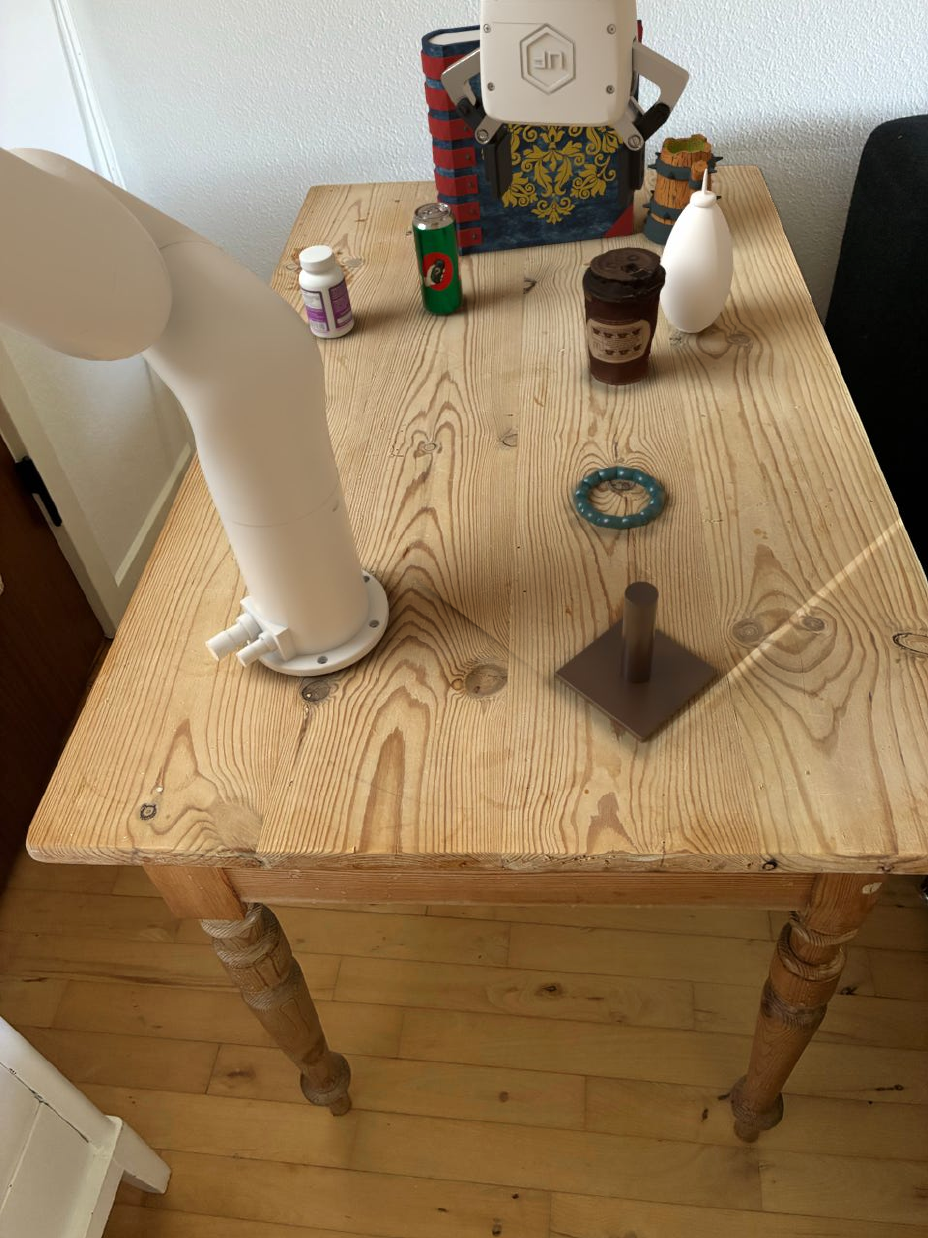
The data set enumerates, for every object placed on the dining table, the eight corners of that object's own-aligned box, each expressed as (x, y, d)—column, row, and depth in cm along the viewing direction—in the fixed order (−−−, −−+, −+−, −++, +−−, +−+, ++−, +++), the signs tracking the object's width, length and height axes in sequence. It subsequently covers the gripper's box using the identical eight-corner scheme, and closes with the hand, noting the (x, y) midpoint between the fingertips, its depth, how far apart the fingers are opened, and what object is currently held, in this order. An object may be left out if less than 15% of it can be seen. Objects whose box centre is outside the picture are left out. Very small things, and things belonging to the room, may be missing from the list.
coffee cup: (655, 399, 99) (664, 285, 89) (577, 396, 101) (577, 283, 91) (661, 353, 105) (669, 241, 95) (586, 350, 106) (587, 240, 97)
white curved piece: (717, 351, 104) (738, 188, 91) (648, 342, 106) (658, 182, 93) (731, 314, 109) (753, 154, 95) (664, 306, 111) (676, 149, 98)
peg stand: (640, 747, 71) (649, 662, 63) (554, 682, 75) (552, 595, 68) (716, 679, 74) (732, 590, 67) (629, 621, 79) (635, 532, 71)
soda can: (472, 307, 115) (463, 210, 106) (437, 322, 113) (426, 225, 104) (449, 291, 118) (439, 196, 109) (415, 306, 116) (402, 210, 107)
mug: (633, 215, 127) (638, 125, 118) (709, 207, 127) (719, 116, 118) (652, 262, 118) (658, 169, 110) (733, 253, 118) (746, 159, 109)
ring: (622, 547, 85) (623, 536, 84) (555, 505, 89) (555, 494, 88) (682, 501, 88) (683, 490, 87) (615, 463, 93) (615, 452, 92)
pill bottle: (348, 312, 117) (333, 237, 109) (359, 333, 113) (344, 257, 106) (306, 322, 116) (289, 248, 109) (315, 344, 112) (298, 268, 105)
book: (443, 259, 124) (420, 49, 105) (440, 234, 128) (418, 29, 110) (634, 236, 123) (644, 21, 105) (624, 212, 128) (632, 2, 109)
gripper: (404, -62, 58) (439, 211, 71) (686, -70, 53) (668, 226, 65) (446, -96, 62) (472, 166, 75) (710, -106, 57) (689, 177, 70)
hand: (563, 194), depth 70 cm, fingers open, 9 cm apart
